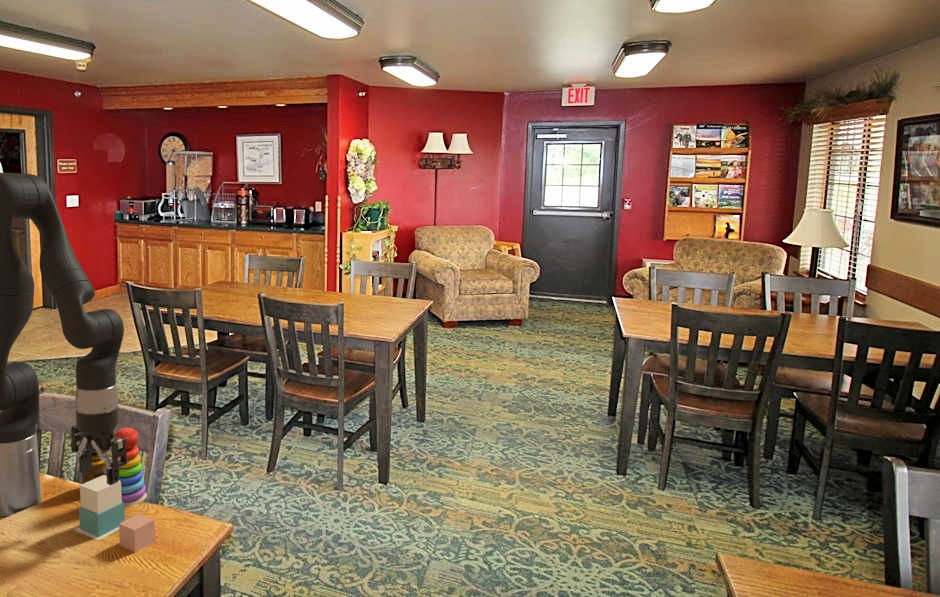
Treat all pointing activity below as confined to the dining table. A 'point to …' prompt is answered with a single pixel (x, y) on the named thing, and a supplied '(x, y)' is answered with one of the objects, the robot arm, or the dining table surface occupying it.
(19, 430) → the robot arm
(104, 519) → the teal base brick
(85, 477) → the condiment
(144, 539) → the pink cube
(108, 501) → the cream brick
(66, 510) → the dining table surface
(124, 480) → the stacking toy
